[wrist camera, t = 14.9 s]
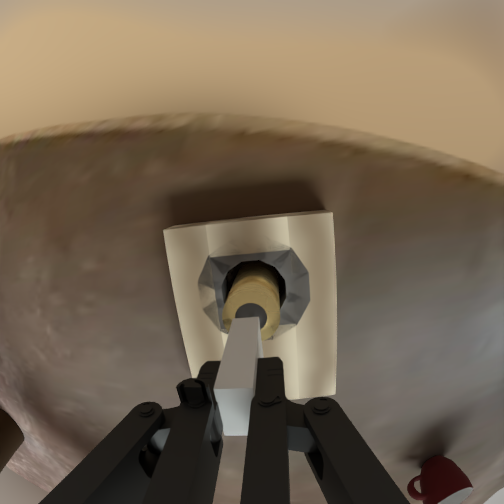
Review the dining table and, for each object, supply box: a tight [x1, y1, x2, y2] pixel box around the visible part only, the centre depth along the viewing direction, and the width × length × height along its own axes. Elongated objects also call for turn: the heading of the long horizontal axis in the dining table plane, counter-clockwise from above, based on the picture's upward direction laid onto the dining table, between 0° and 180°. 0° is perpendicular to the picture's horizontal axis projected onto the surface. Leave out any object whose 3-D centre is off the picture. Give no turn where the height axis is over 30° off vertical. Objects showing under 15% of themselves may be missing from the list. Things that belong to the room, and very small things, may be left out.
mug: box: [407, 455, 473, 504], centre depth 29 cm, size 10×8×10 cm
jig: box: [163, 210, 337, 400], centre depth 27 cm, size 14×18×3 cm
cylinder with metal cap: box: [222, 261, 280, 341], centre depth 24 cm, size 4×4×8 cm
